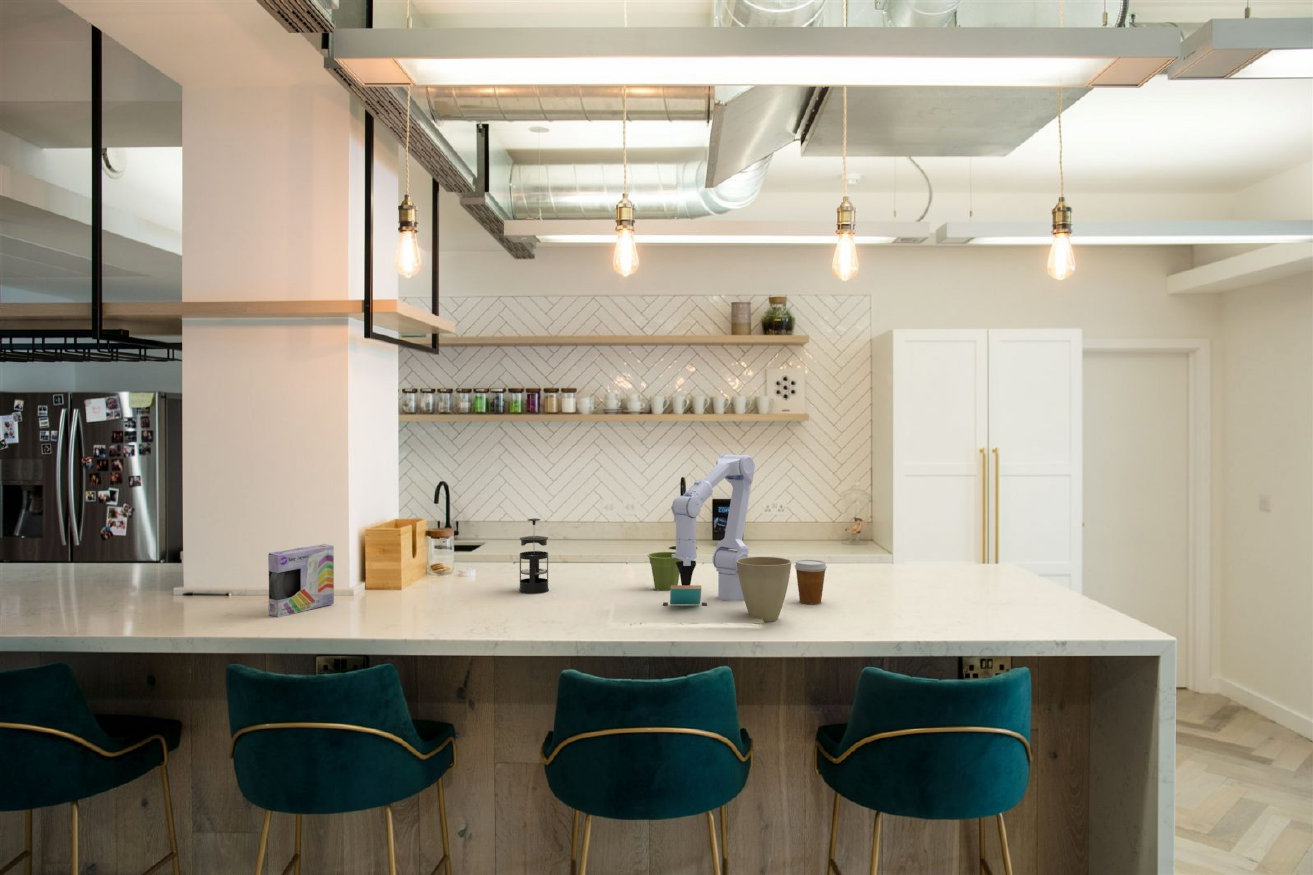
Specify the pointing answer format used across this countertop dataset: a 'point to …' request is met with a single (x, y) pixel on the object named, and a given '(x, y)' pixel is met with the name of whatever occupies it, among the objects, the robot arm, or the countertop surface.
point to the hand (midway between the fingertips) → (685, 587)
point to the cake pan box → (300, 579)
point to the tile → (685, 594)
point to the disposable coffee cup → (810, 580)
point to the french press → (534, 565)
